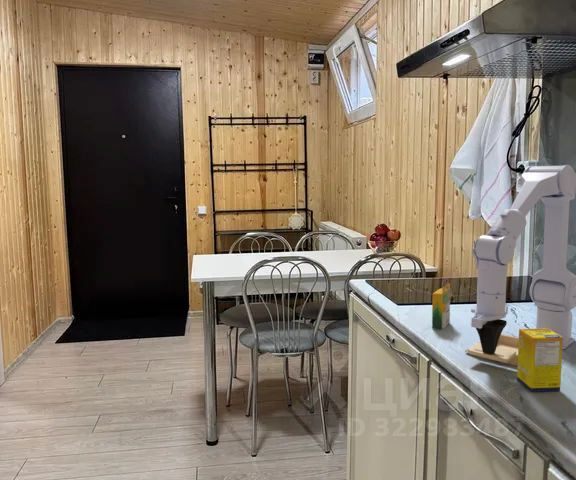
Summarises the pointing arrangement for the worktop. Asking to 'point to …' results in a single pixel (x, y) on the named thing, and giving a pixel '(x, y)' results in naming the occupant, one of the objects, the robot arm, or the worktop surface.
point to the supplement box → (539, 359)
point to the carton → (508, 347)
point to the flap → (499, 354)
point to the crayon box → (441, 308)
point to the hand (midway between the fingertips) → (488, 352)
